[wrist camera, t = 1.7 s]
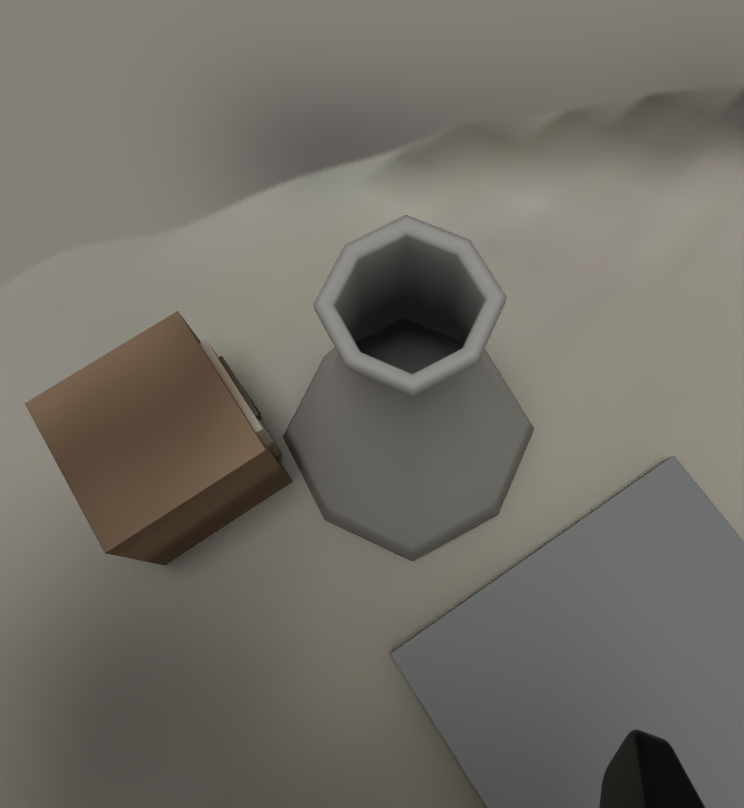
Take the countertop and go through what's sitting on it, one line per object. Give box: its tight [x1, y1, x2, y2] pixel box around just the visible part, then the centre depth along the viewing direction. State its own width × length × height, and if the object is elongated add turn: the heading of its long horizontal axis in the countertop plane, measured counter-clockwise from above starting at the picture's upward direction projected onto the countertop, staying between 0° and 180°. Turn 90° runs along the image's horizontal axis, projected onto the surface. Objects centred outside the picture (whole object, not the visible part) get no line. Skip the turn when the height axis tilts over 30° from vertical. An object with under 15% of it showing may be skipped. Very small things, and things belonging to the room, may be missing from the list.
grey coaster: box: [390, 455, 744, 808], centre depth 19 cm, size 10×10×1 cm
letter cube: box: [25, 311, 292, 565], centre depth 20 cm, size 4×5×4 cm
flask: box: [283, 215, 534, 561], centre depth 17 cm, size 7×7×10 cm
